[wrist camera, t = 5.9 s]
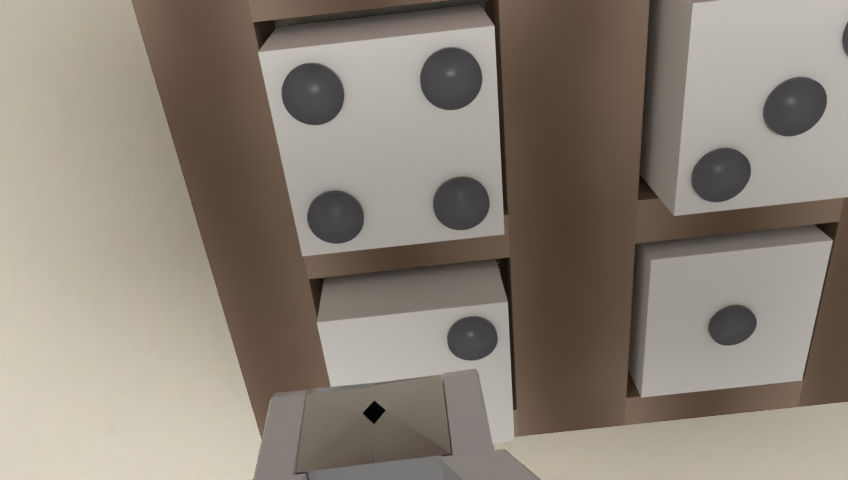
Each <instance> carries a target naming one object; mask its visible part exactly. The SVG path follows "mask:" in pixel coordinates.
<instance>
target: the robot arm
mask: <svg viewBox="0 0 848 480" xmlns="http://www.w3.org/2000/svg"><path fill="white" fill-rule="evenodd" d="M443 386H444V387H443ZM444 394H445V395H444ZM253 480H540V479H539V478H538V477H537V476H536V475H534V474H533V473H532V472H531V471H530V470H529V469H527V468H526V467H525V466H524V465H523V464H521V463H520V462H519V461H518V460H517V459H515V458H514V457H513V456H512V455H511V454H510V453H508V452H507V451H506V450H505V449H502V450H494V447H493V442H492V437H491V432H490V427H489V422H488V417H487V412H486V407H485V403H484V398H483V393H482V388H481V383H480V378H479V373H478V371H477V370H476V369H469V370H462V371H455V372H448V373H443V380H442V374H440V375H432V376H424V377H416V378H408V379H400V380H393V381H385V382H377V383H366V384H355V385H345V386H335V387H325V388H315V389H309V390H300V391H291V392H281V393H275V394H274V395H273V397H272V398H271V400H270V403H269V408H268V412H267V417H266V422H265V427H264V431H263V436H262V441H261V445H260V450H259V455H258V460H257V464H256V469H255V474H254V478H253Z"/></svg>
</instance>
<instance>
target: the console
mask: <svg viewBox="0 0 848 480" xmlns="http://www.w3.org/2000/svg"><path fill="white" fill-rule="evenodd" d="M438 1H446V0H132V4H133V7H134V10H135V14H136V17H137V20H138V24H139V27H140V31H141V34H142V37H143V41H144V44H145V47H146V51H147V54H148V58H149V61H150V64H151V68H152V71H153V74H154V78H155V81H156V85H157V88H158V91H159V95H160V98H161V101H162V105H163V108H164V112H165V115H166V118H167V122H168V125H169V128H170V132H171V135H172V138H173V142H174V145H175V149H176V152H177V155H178V159H179V162H180V165H181V169H182V172H183V176H184V179H185V182H186V186H187V189H188V192H189V196H190V199H191V203H192V206H193V209H194V213H195V216H196V219H197V223H198V226H199V230H200V233H201V236H202V240H203V243H204V246H205V250H206V253H207V257H208V260H209V263H210V267H211V270H212V273H213V277H214V280H215V284H216V287H217V290H218V294H219V297H220V300H221V304H222V307H223V310H224V314H225V317H226V321H227V324H228V327H229V331H230V334H231V337H232V341H233V344H234V348H235V351H236V354H237V358H238V361H239V364H240V368H241V371H242V375H243V378H244V381H245V385H246V388H247V391H248V395H249V398H250V402H251V405H252V408H253V412H254V415H255V418H256V422H257V425H258V429H259V432H260V435H261V439H262V436H263V431H264V427H265V422H266V417H267V412H268V408H269V403H270V400H271V398H272V397H273V395H274V394H275V393H281V392H291V391H300V390H309V389H315V388H325V387H331V386H330V381H329V377H328V372H327V367H326V363H325V358H324V354H323V349H322V344H321V340H320V335H319V331H318V326H317V318H318V312H319V306H320V300H321V294H322V288H323V282H324V277H333V276H342V275H351V274H361V273H370V272H379V271H388V270H397V269H407V268H416V267H425V266H434V265H444V264H453V263H462V262H471V261H480V260H490V259H499V258H500V270H501V279H502V282H503V286H504V290H505V293H506V297H507V301H508V316H509V337H510V357H511V378H512V399H513V419H514V437H516V436H526V435H535V434H545V433H554V432H564V431H573V430H583V429H592V428H601V427H611V426H620V425H630V424H639V423H649V422H658V421H668V420H677V419H687V418H696V417H706V416H715V415H725V414H734V413H744V412H753V411H763V410H772V409H781V408H791V407H800V406H810V405H819V404H829V403H838V402H848V197H844V198H835V199H826V200H817V201H807V202H798V203H789V204H780V205H771V206H761V207H752V208H743V209H734V210H725V211H715V212H706V213H697V214H688V215H679V216H674V215H673V214H672V213H671V212H670V211H669V209H668V208H667V207H666V206H665V204H664V203H663V202H662V201H661V200H660V198H659V197H658V196H657V195H656V194H655V192H654V191H653V190H652V189H651V187H650V186H649V185H648V184H647V183H646V181H645V180H644V179H643V178H642V177H641V175H640V174H639V172H640V155H641V138H642V121H643V104H644V87H645V70H646V53H647V36H648V19H649V2H650V0H486V7H487V15H488V17H489V18H490V20H491V21H492V23H493V24H494V27H495V48H496V68H497V89H498V110H499V130H500V151H501V172H502V192H503V213H504V235H495V236H486V237H477V238H467V239H458V240H449V241H440V242H431V243H421V244H412V245H403V246H394V247H385V248H375V249H366V250H357V251H348V252H339V253H330V254H320V255H311V256H302V252H301V248H300V243H299V239H298V234H297V229H296V225H295V220H294V216H293V211H292V207H291V202H290V197H289V193H288V188H287V184H286V179H285V174H284V170H283V165H282V161H281V156H280V151H279V147H278V142H277V138H276V133H275V128H274V124H273V119H272V115H271V110H270V105H269V101H268V96H267V92H266V87H265V82H264V78H263V73H262V69H261V64H260V59H259V55H258V51H259V50H260V49H261V47H262V46H263V45H264V43H265V42H266V41H267V39H268V38H269V37H270V35H271V34H272V33H273V31H274V30H275V25H274V20H278V19H287V18H295V17H304V16H313V15H322V14H331V13H340V12H349V11H358V10H366V9H375V8H384V7H393V6H402V5H411V4H420V3H429V2H438ZM812 224H814V225H815V226H816V227H818V228H819V229H820V230H821V231H822V232H824V233H825V234H826V235H827V236H828V237H830V238H831V239H832V240H833V242H832V247H831V251H830V256H829V260H828V265H827V269H826V274H825V278H824V283H823V287H822V292H821V297H820V301H819V306H818V310H817V315H816V319H815V324H814V328H813V333H812V337H811V342H810V346H809V351H808V355H807V360H806V364H805V369H804V373H803V378H802V381H793V382H784V383H774V384H765V385H755V386H746V387H737V388H727V389H718V390H708V391H699V392H689V393H680V394H671V395H661V396H652V397H642V398H641V396H640V394H639V392H638V390H637V388H636V385H635V383H634V381H633V379H632V377H631V375H630V373H629V371H628V359H629V342H630V325H631V308H632V291H633V274H634V257H635V244H637V243H646V242H656V241H665V240H674V239H683V238H693V237H702V236H711V235H720V234H729V233H739V232H748V231H757V230H766V229H776V228H785V227H794V226H803V225H812Z"/></svg>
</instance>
